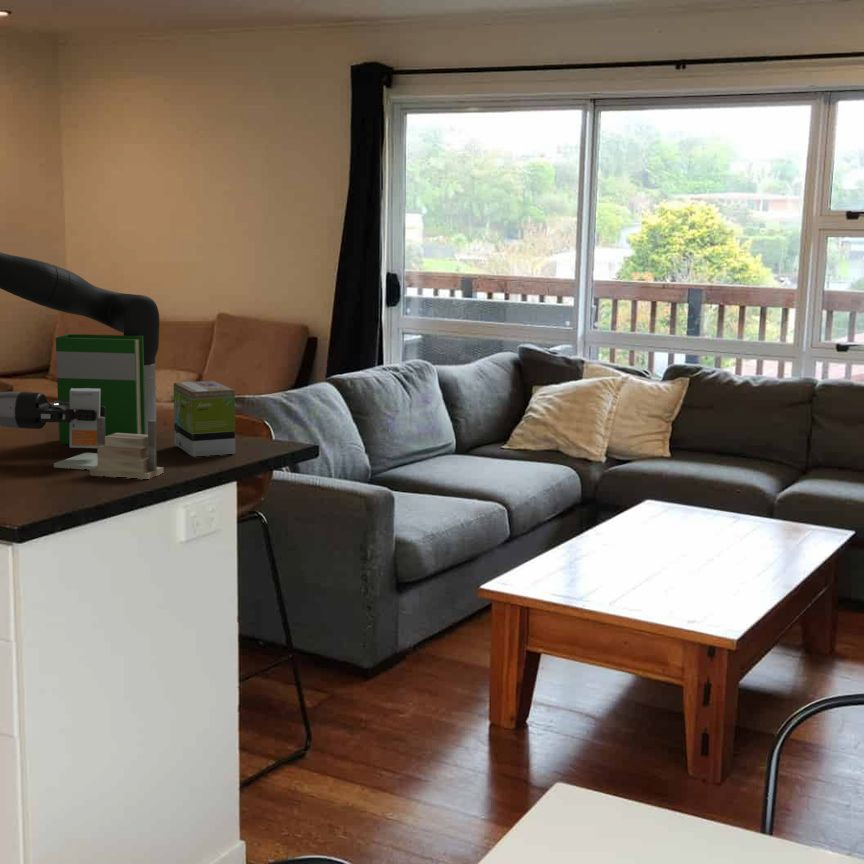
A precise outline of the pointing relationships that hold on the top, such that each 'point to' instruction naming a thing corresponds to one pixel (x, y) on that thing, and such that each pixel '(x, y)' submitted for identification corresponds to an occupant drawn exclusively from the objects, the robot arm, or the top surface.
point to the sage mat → (79, 462)
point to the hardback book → (104, 378)
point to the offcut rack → (126, 453)
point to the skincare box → (84, 431)
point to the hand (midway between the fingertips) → (100, 413)
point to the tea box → (204, 418)
